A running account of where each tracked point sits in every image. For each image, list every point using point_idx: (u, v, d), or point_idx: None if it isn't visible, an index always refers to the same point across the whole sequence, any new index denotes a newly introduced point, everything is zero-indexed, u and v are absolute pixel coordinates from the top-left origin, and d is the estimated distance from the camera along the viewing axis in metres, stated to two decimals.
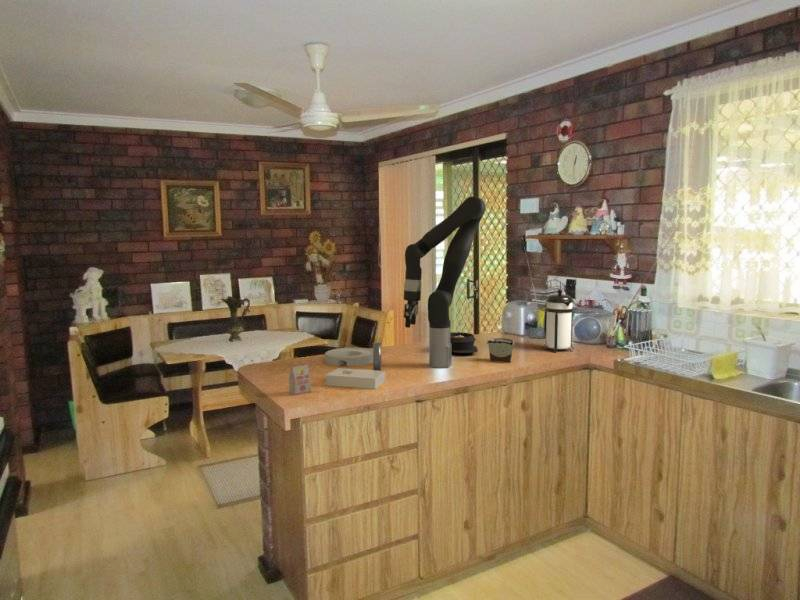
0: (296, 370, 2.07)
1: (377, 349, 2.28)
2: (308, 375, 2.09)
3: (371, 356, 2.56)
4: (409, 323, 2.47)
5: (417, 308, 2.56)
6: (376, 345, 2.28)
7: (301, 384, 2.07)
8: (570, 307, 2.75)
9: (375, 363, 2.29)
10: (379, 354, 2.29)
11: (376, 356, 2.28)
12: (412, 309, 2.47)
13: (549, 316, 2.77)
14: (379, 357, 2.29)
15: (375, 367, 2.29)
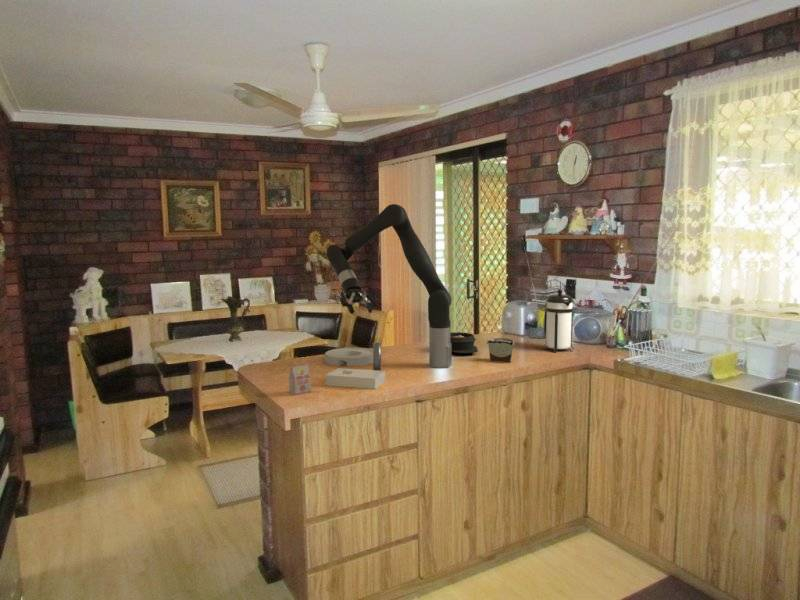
0: (296, 370, 2.07)
1: (377, 348, 2.28)
2: (308, 375, 2.09)
3: (371, 356, 2.56)
4: (351, 308, 2.36)
5: (369, 296, 2.44)
6: (376, 345, 2.28)
7: (301, 384, 2.07)
8: (570, 307, 2.75)
9: (375, 363, 2.29)
10: (379, 354, 2.29)
11: (376, 356, 2.28)
12: (350, 296, 2.39)
13: (549, 316, 2.77)
14: (379, 357, 2.29)
15: (375, 367, 2.29)
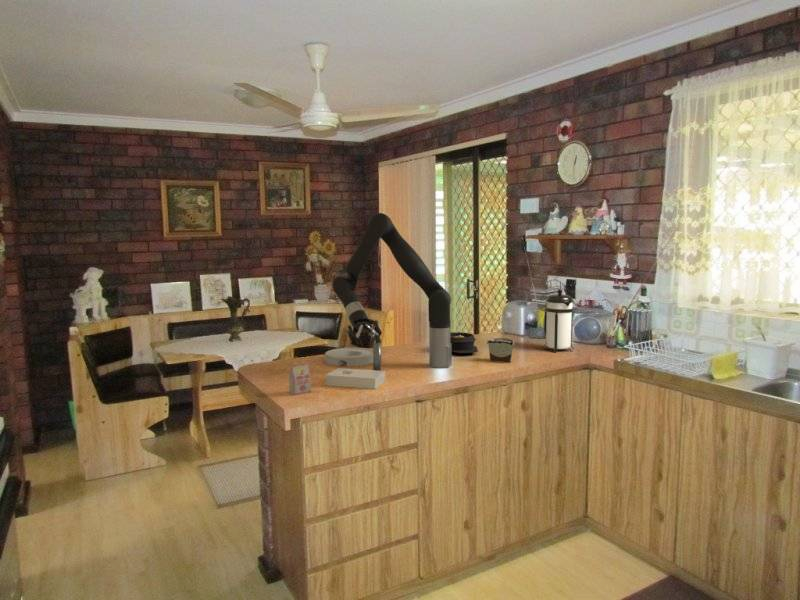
0: (296, 370, 2.07)
1: (377, 349, 2.28)
2: (308, 375, 2.09)
3: (371, 356, 2.56)
4: (359, 342, 2.32)
5: (377, 328, 2.40)
6: (376, 345, 2.28)
7: (301, 384, 2.07)
8: (570, 307, 2.75)
9: (375, 363, 2.29)
10: (379, 354, 2.29)
11: (376, 356, 2.28)
12: (358, 329, 2.35)
13: (549, 316, 2.77)
14: (379, 357, 2.29)
15: (375, 367, 2.29)
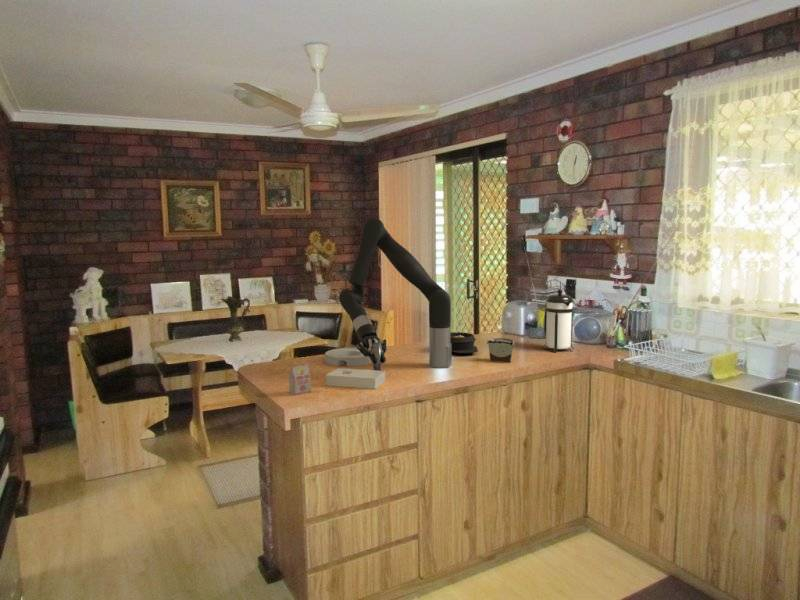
0: (296, 370, 2.07)
1: (377, 348, 2.28)
2: (308, 375, 2.09)
3: None
4: (374, 358, 2.28)
5: (384, 345, 2.34)
6: (376, 345, 2.28)
7: (301, 384, 2.07)
8: (570, 307, 2.75)
9: None
10: (379, 354, 2.29)
11: (376, 356, 2.28)
12: (368, 344, 2.31)
13: (549, 316, 2.77)
14: (379, 357, 2.29)
15: (375, 367, 2.29)
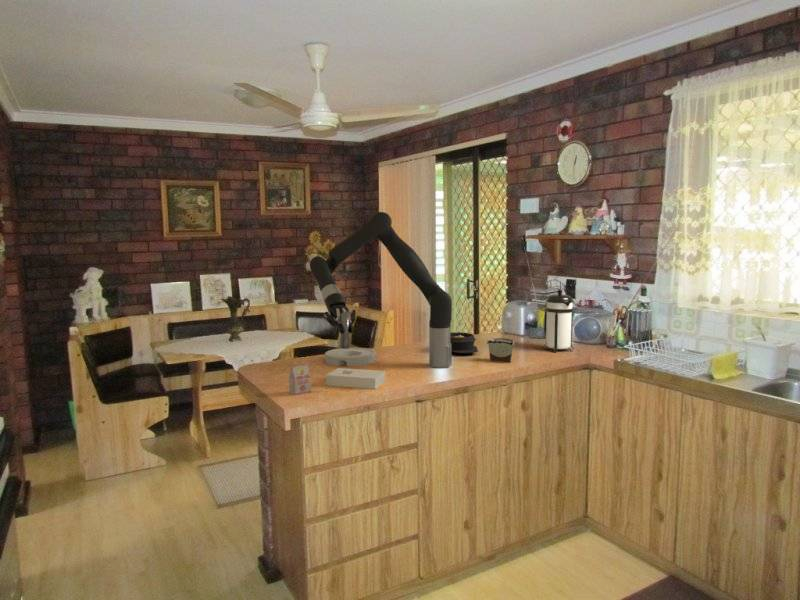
0: (296, 370, 2.07)
1: (345, 318, 2.19)
2: (308, 375, 2.09)
3: (371, 356, 2.56)
4: (341, 328, 2.18)
5: (352, 315, 2.24)
6: (344, 314, 2.19)
7: (301, 384, 2.07)
8: (570, 307, 2.75)
9: None
10: (347, 324, 2.19)
11: (344, 326, 2.19)
12: (336, 314, 2.21)
13: (549, 316, 2.77)
14: (347, 327, 2.19)
15: (343, 337, 2.20)
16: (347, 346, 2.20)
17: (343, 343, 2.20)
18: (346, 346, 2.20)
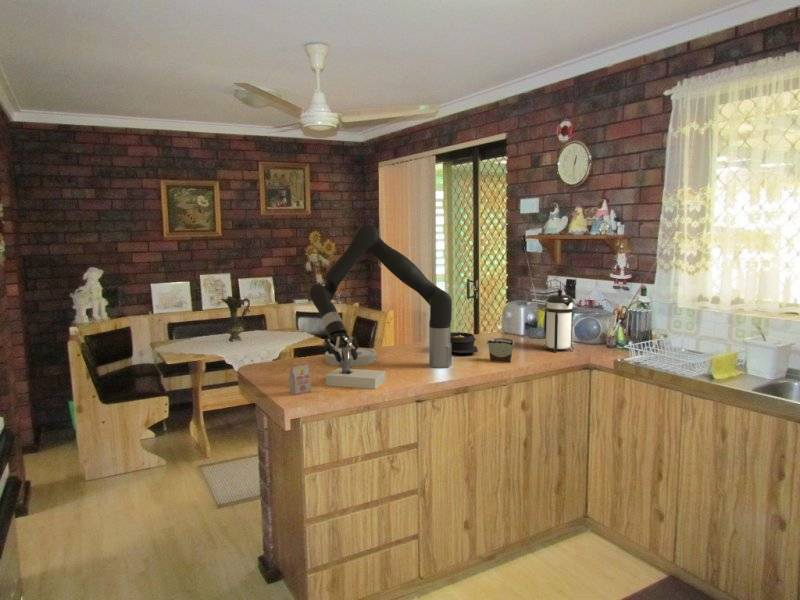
0: (296, 370, 2.07)
1: (346, 353, 2.20)
2: (308, 375, 2.09)
3: (371, 356, 2.56)
4: (338, 356, 2.19)
5: (355, 341, 2.26)
6: (344, 349, 2.20)
7: (301, 384, 2.07)
8: (570, 307, 2.75)
9: (343, 368, 2.21)
10: (348, 358, 2.21)
11: (345, 361, 2.21)
12: (336, 341, 2.22)
13: (549, 316, 2.77)
14: (348, 362, 2.21)
15: (344, 372, 2.21)
16: None
17: None
18: None
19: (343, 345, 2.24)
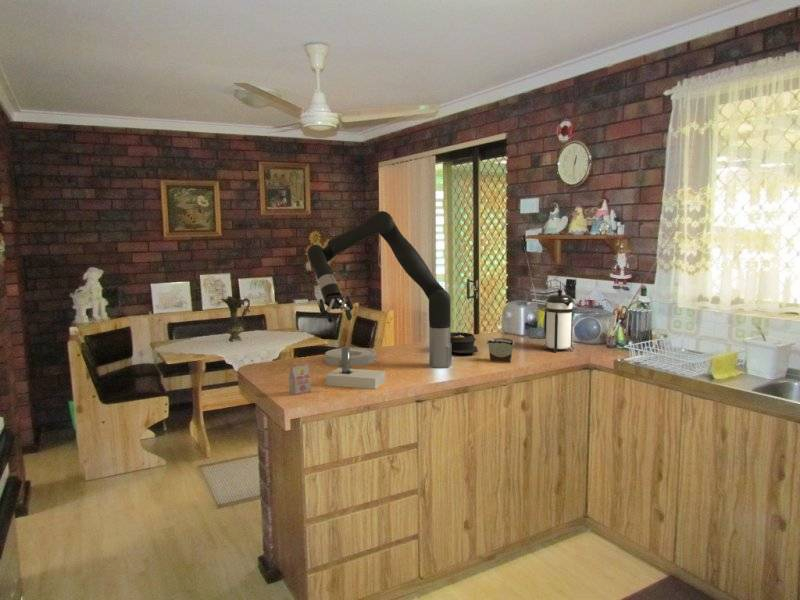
0: (296, 370, 2.07)
1: (346, 353, 2.20)
2: (308, 375, 2.09)
3: (371, 356, 2.56)
4: (330, 317, 2.33)
5: (349, 303, 2.40)
6: (344, 349, 2.20)
7: (301, 384, 2.07)
8: (570, 307, 2.75)
9: (343, 368, 2.21)
10: (348, 359, 2.21)
11: (345, 361, 2.21)
12: (329, 303, 2.36)
13: (549, 316, 2.77)
14: (348, 362, 2.21)
15: (344, 372, 2.21)
16: None
17: None
18: None
19: (338, 307, 2.38)
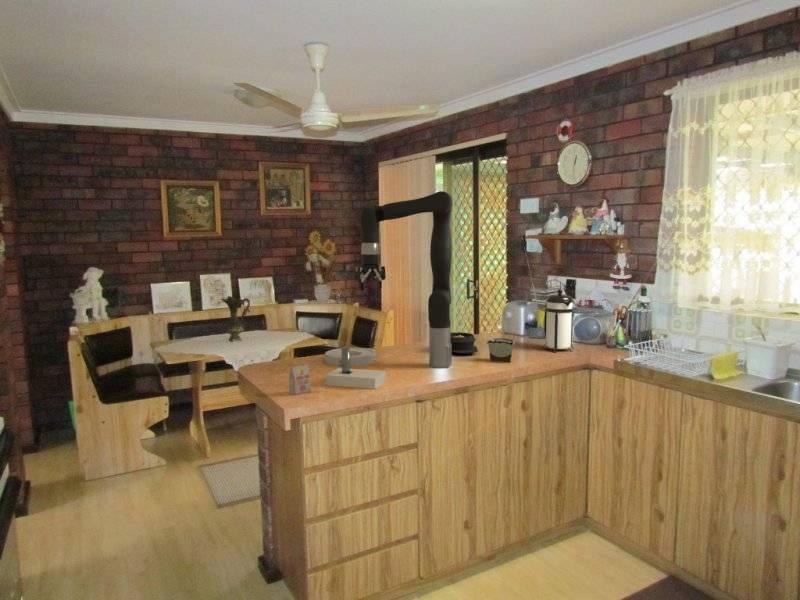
0: (296, 370, 2.07)
1: (346, 353, 2.20)
2: (308, 375, 2.09)
3: (371, 356, 2.56)
4: (362, 286, 2.46)
5: (383, 273, 2.51)
6: (344, 349, 2.20)
7: (301, 384, 2.07)
8: (570, 307, 2.75)
9: (343, 368, 2.21)
10: (348, 359, 2.21)
11: (345, 361, 2.21)
12: (366, 272, 2.46)
13: (549, 316, 2.77)
14: (348, 362, 2.21)
15: (344, 372, 2.21)
16: None
17: None
18: None
19: None
